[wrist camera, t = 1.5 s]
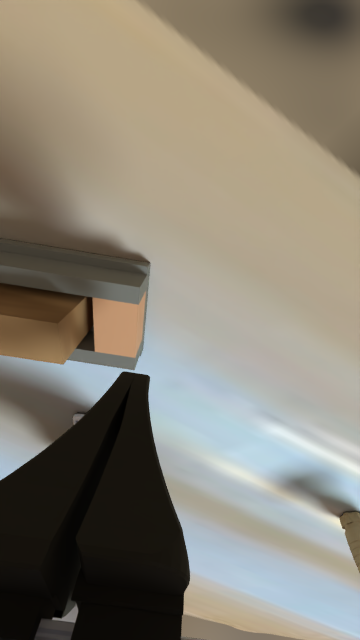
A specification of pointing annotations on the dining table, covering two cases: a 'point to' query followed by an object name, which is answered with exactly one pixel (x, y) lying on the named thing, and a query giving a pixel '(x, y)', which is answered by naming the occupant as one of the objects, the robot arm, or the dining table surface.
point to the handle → (352, 533)
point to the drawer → (42, 323)
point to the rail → (88, 295)
